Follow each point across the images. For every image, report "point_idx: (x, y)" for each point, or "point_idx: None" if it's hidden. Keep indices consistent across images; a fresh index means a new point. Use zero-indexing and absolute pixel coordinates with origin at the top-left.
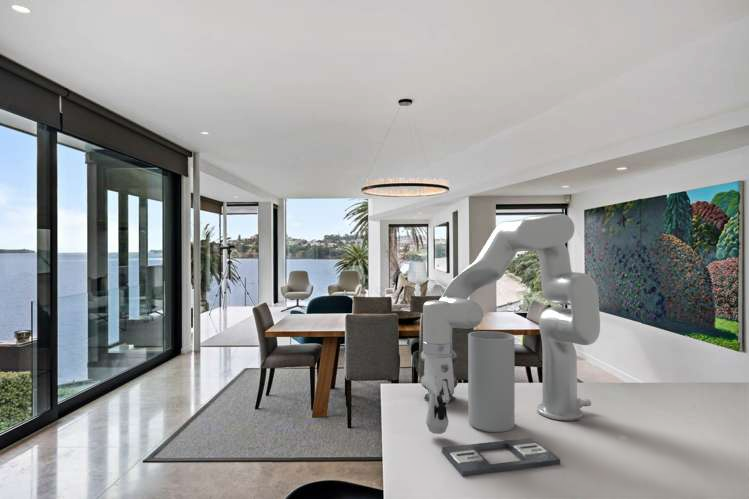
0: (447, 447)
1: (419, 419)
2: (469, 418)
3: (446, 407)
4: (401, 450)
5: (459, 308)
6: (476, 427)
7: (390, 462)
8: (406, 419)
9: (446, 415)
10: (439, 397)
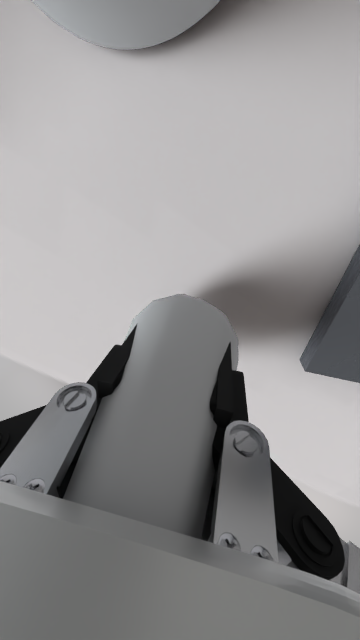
0: (319, 356)
1: (18, 280)
2: (83, 27)
3: (232, 401)
4: None
5: None
6: (176, 35)
7: None
8: (19, 319)
9: (231, 359)
10: (201, 527)
